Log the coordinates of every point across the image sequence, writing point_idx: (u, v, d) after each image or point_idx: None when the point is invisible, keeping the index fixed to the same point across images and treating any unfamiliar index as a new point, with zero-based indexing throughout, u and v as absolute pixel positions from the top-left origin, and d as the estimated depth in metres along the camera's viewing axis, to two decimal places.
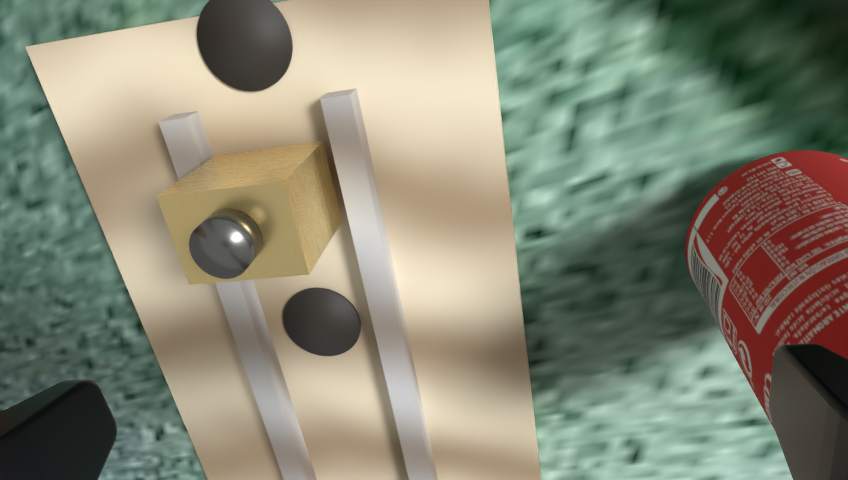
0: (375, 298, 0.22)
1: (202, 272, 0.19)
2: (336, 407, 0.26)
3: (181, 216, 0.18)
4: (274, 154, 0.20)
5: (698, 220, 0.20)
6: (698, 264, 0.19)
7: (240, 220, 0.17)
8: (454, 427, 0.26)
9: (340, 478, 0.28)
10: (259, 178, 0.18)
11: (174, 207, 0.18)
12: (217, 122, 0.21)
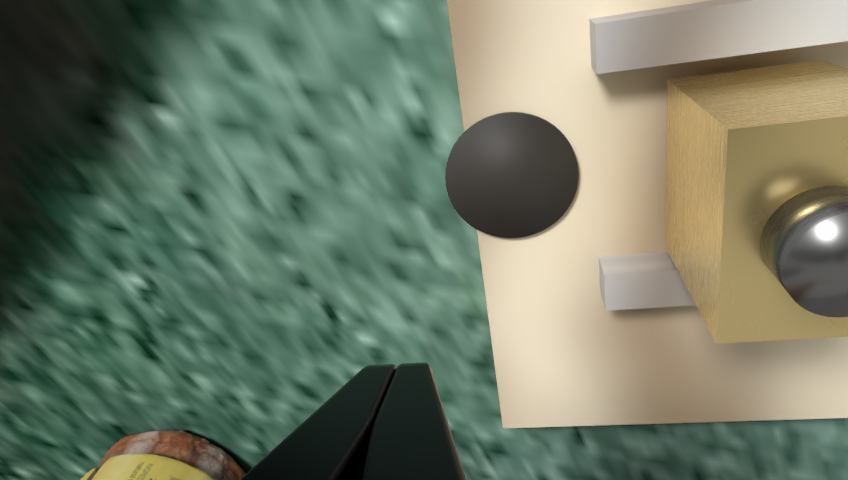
0: None
1: None
2: None
3: (760, 315, 0.11)
4: (677, 156, 0.13)
5: None
6: None
7: (790, 217, 0.09)
8: None
9: None
10: (713, 175, 0.10)
11: (741, 321, 0.11)
12: (618, 235, 0.15)
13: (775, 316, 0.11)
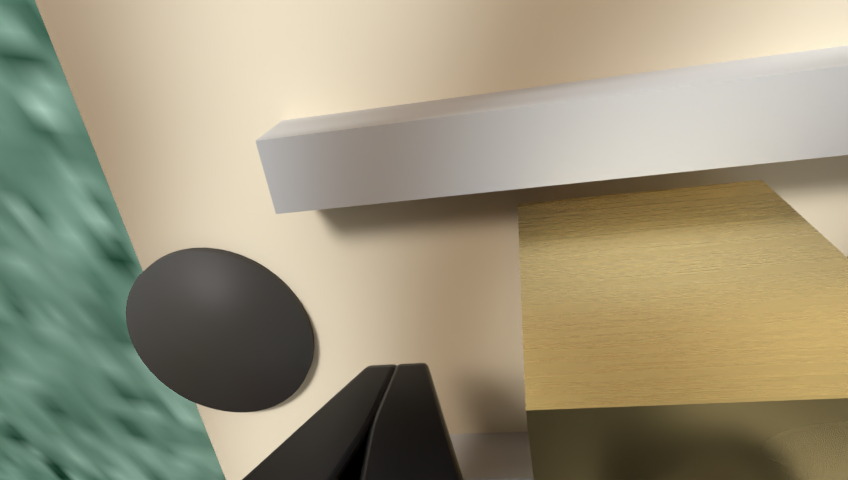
0: None
1: None
2: None
3: None
4: None
5: None
6: None
7: None
8: None
9: None
10: None
11: None
12: None
13: None
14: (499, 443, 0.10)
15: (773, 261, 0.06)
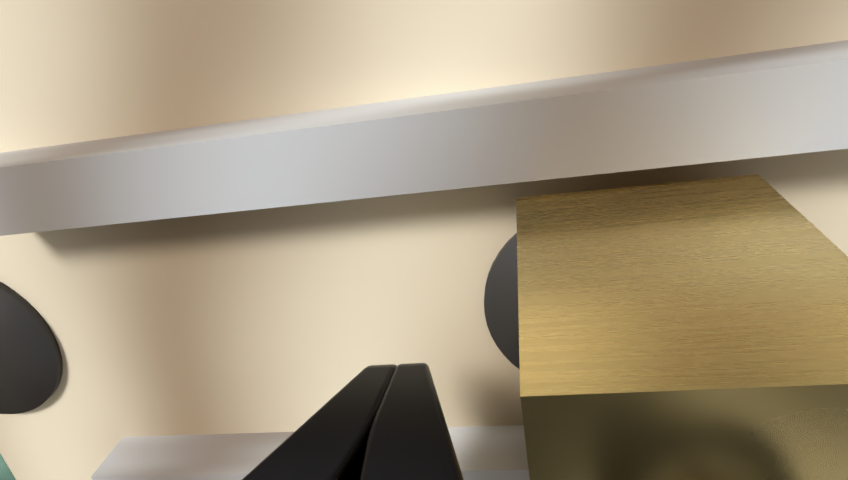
0: (466, 162, 0.07)
1: None
2: None
3: None
4: None
5: None
6: None
7: None
8: None
9: None
10: None
11: None
12: (135, 413, 0.11)
13: None
14: (230, 443, 0.11)
15: (767, 253, 0.06)
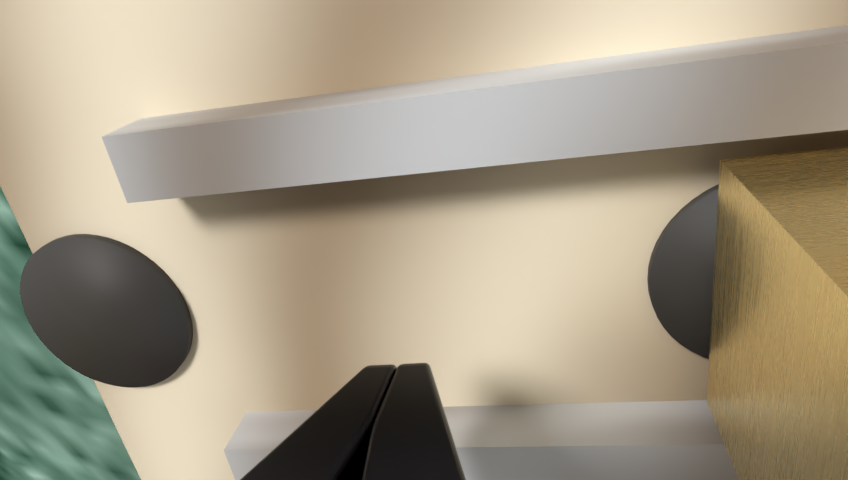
0: (674, 120, 0.07)
1: None
2: None
3: None
4: (737, 292, 0.08)
5: None
6: None
7: None
8: None
9: None
10: (832, 393, 0.05)
11: None
12: (262, 388, 0.11)
13: None
14: None
15: None
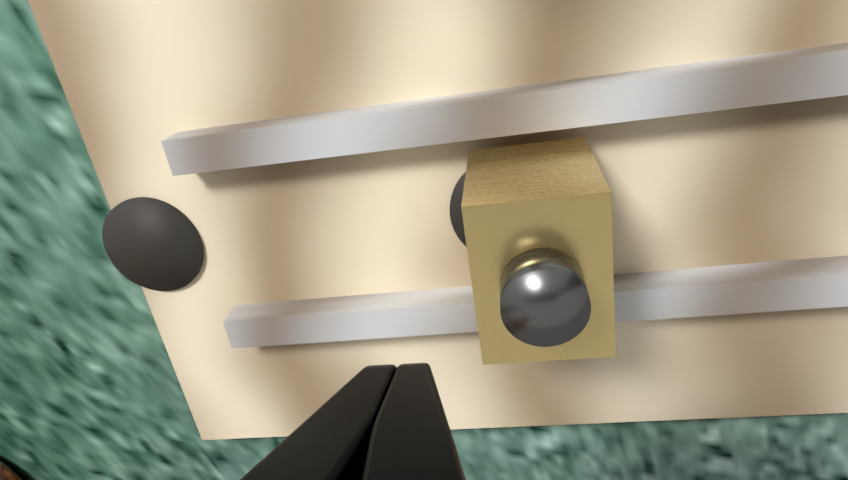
0: (438, 131, 0.15)
1: (596, 336, 0.13)
2: (668, 207, 0.17)
3: (510, 342, 0.14)
4: None
5: None
6: None
7: (508, 272, 0.12)
8: (731, 6, 0.14)
9: (831, 218, 0.16)
10: None
11: (498, 348, 0.14)
12: (244, 289, 0.19)
13: (522, 344, 0.14)
14: (303, 303, 0.19)
15: (568, 164, 0.14)
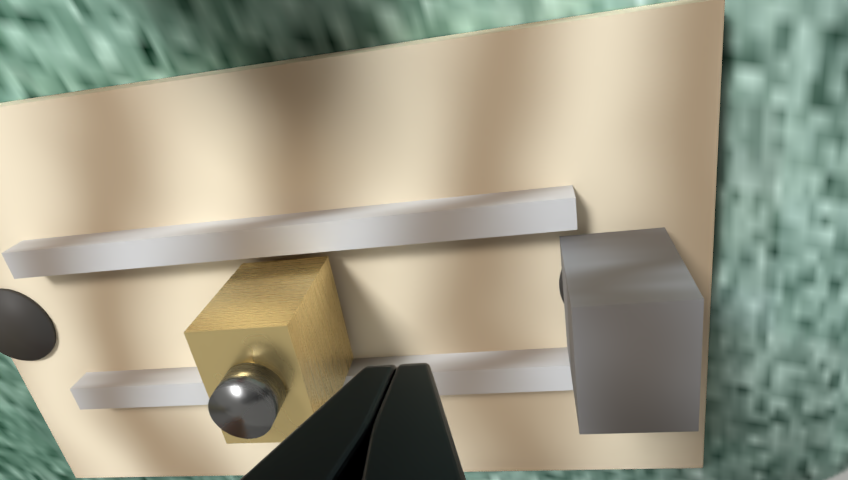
0: (210, 252, 0.19)
1: None
2: (410, 307, 0.20)
3: None
4: None
5: None
6: None
7: (220, 382, 0.16)
8: (426, 162, 0.18)
9: (538, 319, 0.20)
10: None
11: None
12: (92, 360, 0.23)
13: None
14: (137, 373, 0.23)
15: (289, 290, 0.18)
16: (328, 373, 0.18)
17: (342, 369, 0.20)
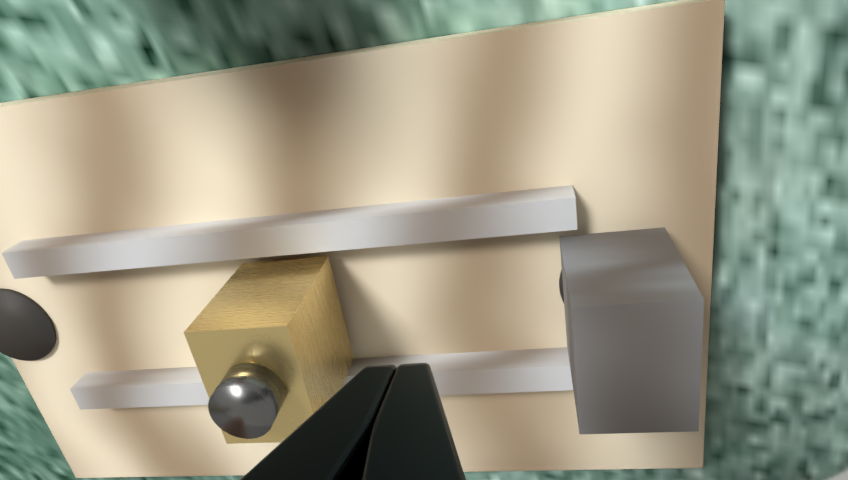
0: (210, 252, 0.19)
1: None
2: (410, 307, 0.20)
3: None
4: None
5: None
6: None
7: (220, 382, 0.16)
8: (426, 162, 0.18)
9: (538, 319, 0.20)
10: None
11: None
12: (92, 360, 0.23)
13: None
14: (137, 373, 0.23)
15: (289, 290, 0.18)
16: (328, 373, 0.18)
17: (342, 369, 0.20)
